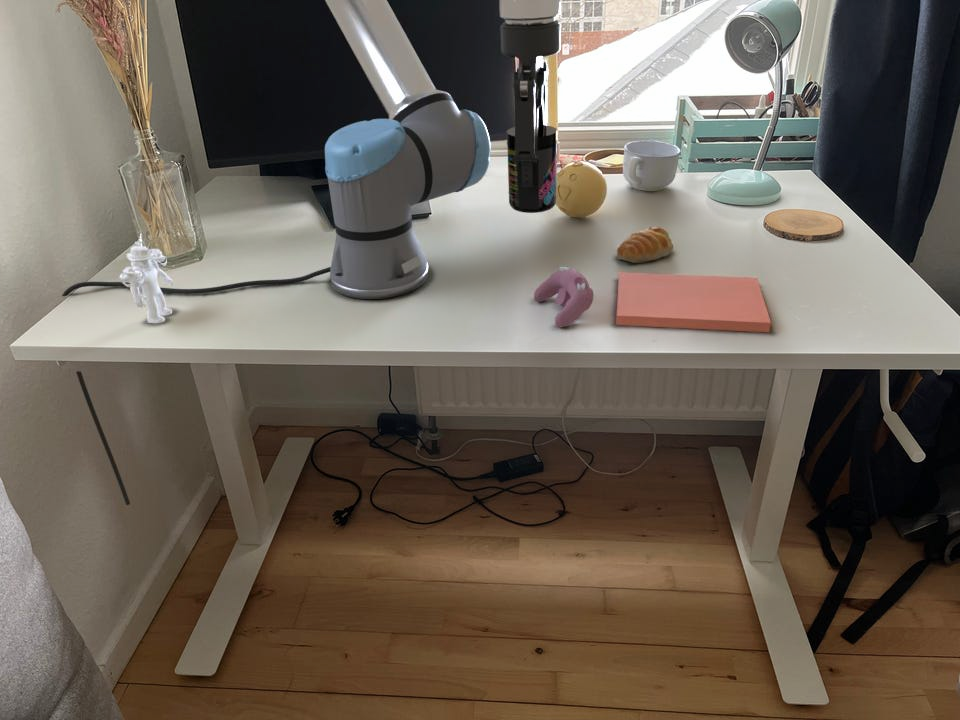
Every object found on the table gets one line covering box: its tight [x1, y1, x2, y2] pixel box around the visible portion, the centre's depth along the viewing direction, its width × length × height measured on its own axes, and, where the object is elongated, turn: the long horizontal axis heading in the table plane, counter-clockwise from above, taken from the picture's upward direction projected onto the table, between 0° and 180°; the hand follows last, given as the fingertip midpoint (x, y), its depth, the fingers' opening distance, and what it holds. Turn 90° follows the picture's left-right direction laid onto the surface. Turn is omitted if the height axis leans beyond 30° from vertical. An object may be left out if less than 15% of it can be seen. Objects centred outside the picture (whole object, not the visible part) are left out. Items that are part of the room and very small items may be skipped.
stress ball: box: [555, 160, 608, 218], centre depth 137 cm, size 10×10×10 cm
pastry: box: [616, 226, 675, 264], centre depth 122 cm, size 9×7×4 cm
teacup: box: [622, 140, 681, 192], centre depth 149 cm, size 14×11×8 cm
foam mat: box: [615, 272, 772, 333], centre depth 107 cm, size 20×14×2 cm
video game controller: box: [533, 266, 595, 328], centre depth 106 cm, size 10×5×7 cm, turn 17°
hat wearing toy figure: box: [119, 233, 174, 324], centre depth 108 cm, size 9×4×12 cm, turn 170°
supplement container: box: [506, 124, 558, 214], centre depth 103 cm, size 7×7×10 cm
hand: (532, 199), depth 106 cm, fingers closed on supplement container, 7 cm apart
